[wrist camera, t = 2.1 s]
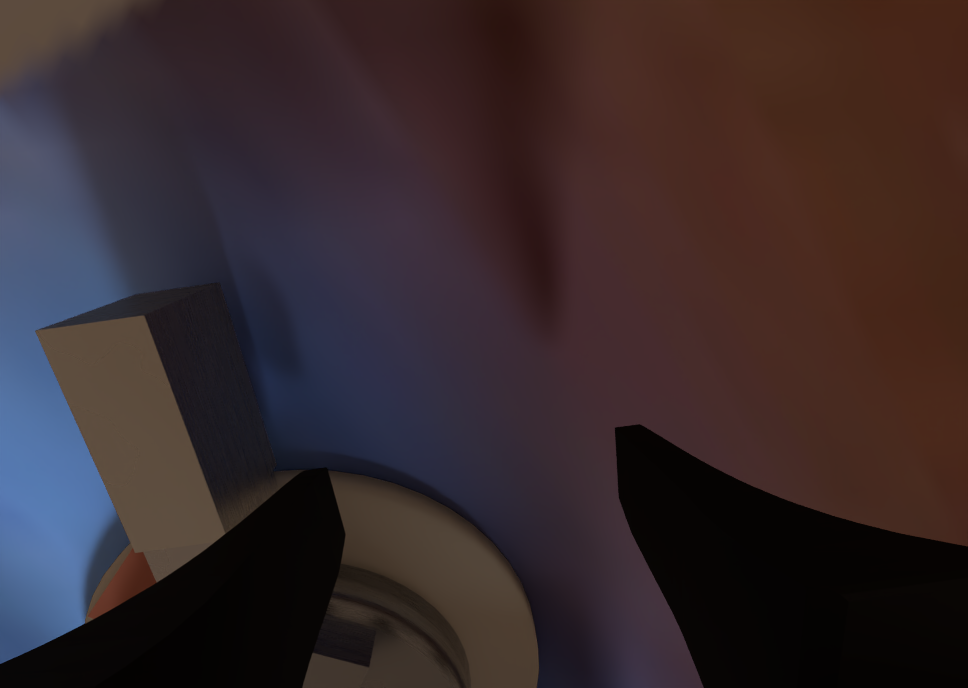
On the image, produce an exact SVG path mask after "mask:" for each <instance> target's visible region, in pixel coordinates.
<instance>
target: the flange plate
mask: <svg viewBox="0 0 968 688" xmlns="http://www.w3.org/2000/svg"><path fill="white" fill-rule="evenodd" d="M302 471H305V470H287V471H275V472H274V474H275V477H276V481H277V484H278V487H279V489H280V488H281V487H283V486H284V485H285V484H286V483H287V482H289V481H290V480H291V479H292V478H294V477H295V476H296V475H298V474H299V473H301V472H302ZM328 472H329V476H330V479H331V483H332V486H333V490H334V494H335V497H336V501H337V504H338V508H339V512H340V515H341V519H342V522H343V526H344V530H345V533H346V536H345V542H344V548H343V554H342V560H341V564H345V565H350V566H354V567H358V568H362V569H366V570H369V571H371V572H374V573H377V574H380V575H383V576H385V577H387V578H390V579H392V580H394V581H396V582H398V583H400V584H402V585H404V586H406V587H407V588H409V589H410V590H412V591H414V592H415V593H417V594H418V595H420V596H421V597H422V598H424V599H425V600H426V601H427V602H429V603H430V604H431V605H432V606H433V607H435V608H436V609H437V610H438V611H439V612H440V614H441V615H442V616H443V617H444V618H445V619H446V620H447V621H448V622H449V624H450V625H451V627H452V628H453V630H454V631H455V632H456V634H457V635H458V637H459V639H460V641H461V643H462V646H463V648H464V650H465V653H466V656H467V660H468V663H469V669H470V678H471V688H537V681H538V673H539V659H538V645H537V638H536V632H535V625H534V620H533V616H532V611H531V607H530V603H529V600H528V598H527V595H526V593H525V590H524V588H523V586H522V583H521V581H520V580H519V578H518V576H517V575H516V573H515V571H514V570H513V568H512V566H511V565H510V563H509V562H508V560H507V559H506V558H505V557H504V556H503V554H502V553H501V552H500V551H499V550H498V548H497V547H496V546H495V545H494V543H493V542H492V541H490V540H489V539H488V538H487V537H486V536H485V535H484V534H483V533H482V532H481V531H479V530H478V529H477V528H476V527H475V526H474V525H473V524H471V523H470V522H469V521H467V520H466V519H464V518H463V517H461V516H460V515H459V514H457V513H456V512H454V511H453V510H451V509H450V508H448V507H446V506H444V505H442V504H441V503H439V502H437V501H435V500H433V499H431V498H429V497H427V496H425V495H423V494H421V493H418V492H416V491H413V490H411V489H408V488H405V487H403V486H400V485H398V484H395V483H391V482H388V481H384V480H380V479H376V478H372V477H368V476H365V475H358V474H352V473H345V472H338V471H328ZM155 583H157V582H156V580H155V578H154V575H153V573H152V571H151V569H150V566H149V564H148V562H147V560H146V557H145V555H144V553H143V552H139V553H135V552H134V549H133V547H132V545H131V543H130V544H129V545H128V546H127V547H126V548H125V549H124V550H123V552H122V553H121V554H120V555H119V556H118V557H117V559H116V560H115V561H114V563H113V564H112V565H111V566H110V568H109V569H108V570H107V571H106V573H105V574H104V576H103V577H102V579H101V581H100V583H99V585H98V587H97V589H96V591H95V592H94V594H93V596H92V599H91V603H90V606H89V609H88V612H87V616H86V619H85V623H87V622H89V621H91V620H93V619H95V618H97V617H99V616H100V615H102V614H104V613H106V612H108V611H109V610H111V609H113V608H114V607H116V606H118V605H120V604H121V603H123V602H125V601H126V600H128V599H130V598H132V597H133V596H135V595H137V594H138V593H140V592H142V591H143V590H145V589H147V588H149V587H150V586H152V585H154V584H155Z"/></svg>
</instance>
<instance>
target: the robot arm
mask: <svg viewBox="0 0 968 688" xmlns="http://www.w3.org/2000/svg"><path fill="white" fill-rule="evenodd" d="M615 437H616V456H617V474H618V492H619V499H620V502H621V505H622V508H623V511H624V514H625V516H626V519H627V522H628V524H629V527H630V530H631V533H632V535H633V537H634V539H635V541H636V543H637V545H638V547H639V549H640V551H641V552H642V554H643V556H644V558H645V560H646V562H647V564H648V566H649V568H650V570H651V572H652V574H653V576H654V578H655V580H656V582H657V583H658V585H659V587H660V589H661V591H662V593H663V595H664V597H665V599H666V601H667V603H668V605H669V607H670V609H671V611H672V612H673V614H674V617H675V619H676V621H677V623H678V625H679V627H680V629H681V632H682V634H683V636H684V639H685V641H686V644H687V646H688V649H689V651H690V654H691V656H692V659H693V661H694V664H695V666H696V669H697V671H698V674H699V676H700V679H701V681H702V684H703V687H704V688H968V547H967V546H962V545H957V544H952V543H946V542H941V541H936V540H931V539H926V538H920V537H915V536H910V535H905V534H900V533H896V532H892V531H888V530H884V529H880V528H876V527H872V526H868V525H864V524H860V523H856V522H853V521H849V520H846V519H842V518H839V517H835V516H832V515H829V514H826V513H823V512H820V511H817V510H814V509H810V508H807V507H804V506H801V505H798V504H796V503H793V502H790V501H787V500H785V499H782V498H779V497H777V496H775V495H772V494H770V493H767V492H765V491H763V490H760V489H758V488H755V487H753V486H751V485H748V484H746V483H744V482H742V481H740V480H738V479H736V478H734V477H732V476H730V475H728V474H726V473H724V472H722V471H720V470H718V469H716V468H714V467H712V466H710V465H708V464H706V463H705V462H703V461H701V460H699V459H697V458H696V457H694V456H692V455H690V454H689V453H687V452H685V451H684V450H682V449H680V448H679V447H677V446H675V445H674V444H672V443H670V442H669V441H667V440H665V439H664V438H662V437H660V436H659V435H657V434H656V433H654V432H652V431H651V430H649V429H647V428H646V427H644V426H642V425H640V424H638V425H631V426H624V427H616V428H615ZM345 536H346V533H345V530H344V526H343V522H342V519H341V515H340V512H339V508H338V504H337V501H336V497H335V494H334V490H333V486H332V483H331V479H330V476H329V472H328V469H327V467H326V468H319V469H312V470H305V471H302V472H301V473H299V474H298V475H296V476H295V477H294V478H292V479H291V480H290V481H289V482H287V483H286V484H285V485H284V486H283V487H281V488H280V489H279V490H278V491H277V492H276V493H274V494H273V495H272V496H271V497H270V498H268V499H267V500H266V501H265V502H264V503H263V504H261V505H260V506H259V507H258V508H257V509H255V510H254V511H253V512H252V513H251V514H249V515H248V516H247V517H246V518H245V519H243V520H242V521H241V522H240V523H238V524H237V525H236V526H235V527H233V528H232V529H231V530H230V531H228V532H227V533H226V534H224V535H223V536H222V537H221V538H219V539H218V540H217V541H215V542H214V543H213V544H212V545H210V546H209V547H208V548H206V549H205V550H204V551H202V552H201V553H200V554H198V555H197V556H195V557H194V558H193V559H191V560H190V561H188V562H187V563H186V564H184V565H183V566H181V567H180V568H178V569H177V570H175V571H174V572H172V573H171V574H169V575H168V576H166V577H165V578H163V579H161V580H160V581H158V582H157V583H155V584H154V585H152V586H150V587H149V588H147V589H145V590H143V591H142V592H140V593H138V594H137V595H135V596H133V597H132V598H130V599H128V600H126V601H125V602H123V603H121V604H120V605H118V606H116V607H114V608H113V609H111V610H109V611H108V612H106V613H104V614H102V615H100V616H99V617H97V618H95V619H93V620H91V621H89V622H87V623H85V624H83V625H81V626H80V627H78V628H76V629H74V630H72V631H70V632H68V633H66V634H64V635H62V636H60V637H58V638H56V639H54V640H52V641H50V642H48V643H46V644H44V645H41V646H39V647H37V648H35V649H33V650H31V651H29V652H27V653H24V654H22V655H20V656H18V657H15V658H13V659H11V660H8V661H6V662H4V663H2V664H0V688H303V683H304V680H305V676H306V673H307V669H308V666H309V663H310V659H311V656H312V653H313V650H314V647H315V644H316V641H317V638H318V635H319V632H320V629H321V626H322V623H323V620H324V617H325V614H326V611H327V608H328V605H329V602H330V599H331V596H332V593H333V590H334V587H335V584H336V580H337V577H338V574H339V570H340V565H341V560H342V554H343V548H344V542H345Z"/></svg>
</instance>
